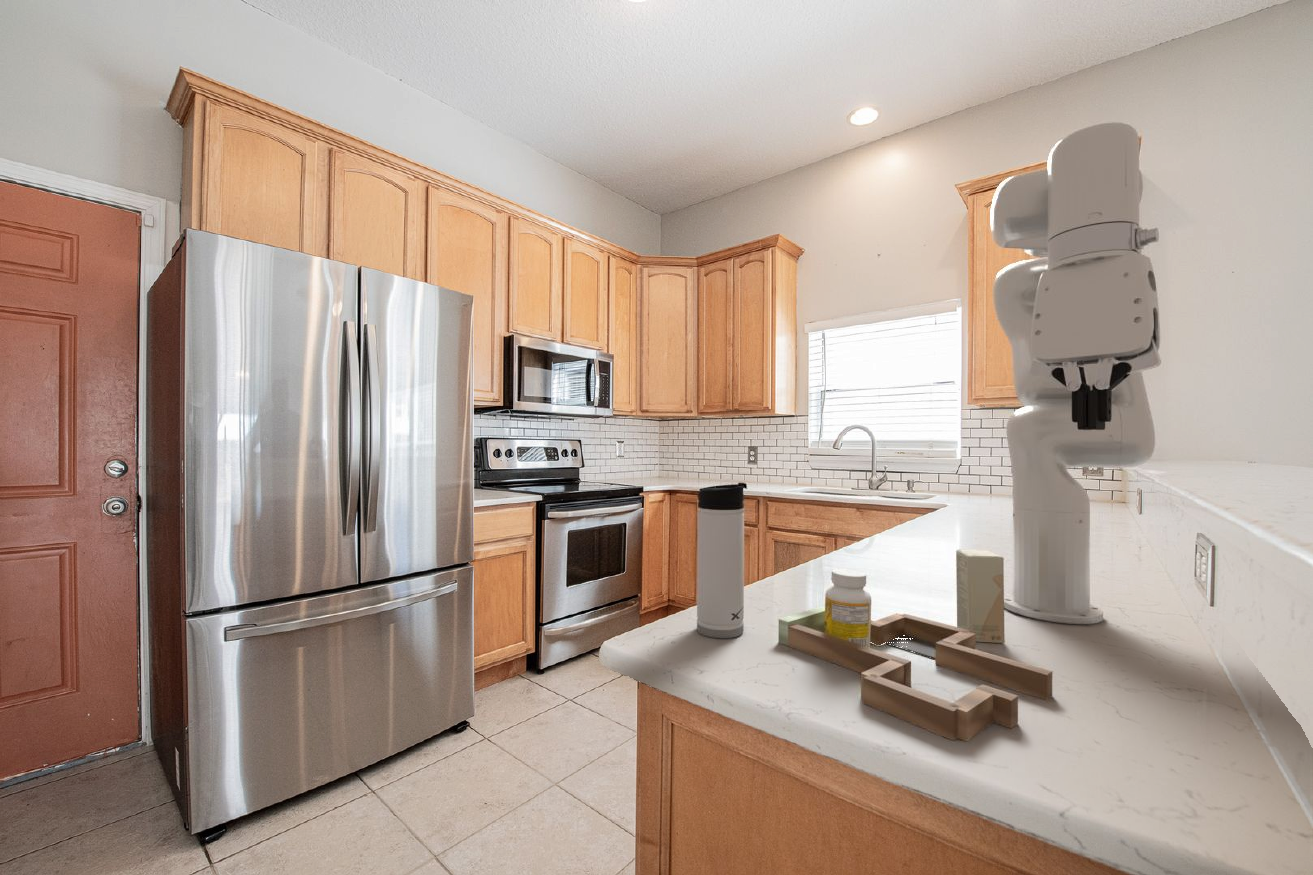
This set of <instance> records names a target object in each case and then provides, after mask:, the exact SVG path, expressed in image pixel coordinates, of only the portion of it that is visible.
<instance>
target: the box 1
mask: <svg viewBox="0 0 1313 875" xmlns="http://www.w3.org/2000/svg"><path fill="white" fill-rule="evenodd" d="M824 627H825V605H822V606H818V607H815V608H811V609H808V610H804V611H801V612H798V613H795V614H791V615H788V616H784V617H780V618H778V643H779V644H780V645H784V646H787V647H788V648H789V647H790V648H792V649H795V650H796V651H797V650H798V651H801V652H803V653H806V654H809V655H811V656H814V657H816V658H819V659H822V660H824V661H827V662H830V663H833V664H836V665H838V666H841V667H844V668H847V669H849V670H852V671H855V672H857V673H860V672H861V673H860V699H862V700H863V704H865V705H867V706H869V707H872V708H874V709H876V710H879V711H882V712H884V713H886V714H889V715H890V716H894V717H895V718H898V719H901V720H903V721H906V722H907V723H910V724H913V725H915V726H917V727H919V728H923V729H925V730H927V731H930V732H931V733H935V734H937V735H939V736H941V737H944V738H947V739H949V740H952V741H955V740H956V739H960V740H962V741H965V742H968V741H969V740H970V739H971V738H973V737H974V736H976V735H977V734H978V733H980V732H981V731H983V730H984V729H985V728H987V727H988V726H990V725H991V724H992V723H995V724H998V725H1001V726H1004V727H1006V728H1009V729H1013V728H1014V727H1015V726H1017V725H1018V724H1019V723H1018V722H1019V695H1016V694H1013V693H1010V692H1007V691H1004V690H1001V689H998V688H995V687H992V686H989V685H986V684H981V685H979V686H977V687H976V688H974V689H972V690H971V691H970V692H968V693H966V694H965V695H962V697H960V698H958V699H957V700H955V701H953V702H951V701H948V700H945V699H942V698H940V697H937V696H934V695H931V694H929V693H927V692H923V691H920V690H918V689H915V688H912V687H910V686H911V685H912V660H909V659H905V658H902V657H900V656H897V655H893V654H890V653H888V652H887V653H886V652H884V651H881V650H878V649H874V648H871V647H870V648H869V647H866V646H863V645H860V644H857V643H853V642H850V641H847V640H844V639H841V638H838V637H835V636H832V635H829V634H826V633H824ZM903 635H905V636H903ZM898 637H899V638H908V639H906V640H905V639H904V640H903V639H902V640H901V639H898V640H897V639H895V638H898ZM909 638H911V640H910V639H909ZM912 638H913V639H912ZM893 639H894V640H893ZM870 642H872V643H874V644H876V645H881V644H883V643H885V642H886V643H887V642H888V644H891V645H894V646H898V647H902V646H903V647H902V648H904V649H907V650H908V651H907V650H906V651H907V652H910V651H913V652H915V653H914V654H916V653H918V654H917V655H919V654H921V655H920V656H923V655H925V656H924V657H926V656H928V657H927V658H929V657H931V658H930V659H932V658H933V660H935V661H934V662H935V664H937V665H936V666H938V665H939V667H941V666H942V668H945V669H948V670H951V671H955V672H957V673H961V674H964V675H967V676H970V677H972V678H976V679H979V680H983V681H985V682H989V683H991V684H995V685H999V686H1001V687H1004V688H1007V689H1011V690H1014V691H1017V692H1020V693H1023V694H1026V695H1030V696H1032V697H1036V698H1039V699H1042V700H1045V701H1048V700H1049V699H1050V698H1052V697H1053V671H1052V670H1049V669H1045V668H1042V667H1039V666H1035V665H1032V664H1028V663H1024V662H1021V661H1016V660H1014V659H1010V658H1007V657H1003V656H999V655H996V654H992V653H989V652H985V651H982V650H978V649H977V646H976V643H977V641H976V634H974V633H972V631H970V630H966V629H963V628H959V627H957V626H954V625H950V624H948V623H947V624H946V623H943V622H938V621H935V620H931V619H928V618H923V617H919V616H915V615H911V614H907V613H903V614H901V613H894V614H891V615H888V616H885V617H883V618H880V619H876V620H871V629H870ZM889 642H890V643H889ZM891 642H892V643H891ZM893 642H894V643H893ZM897 642H898V643H897ZM899 642H900V643H899ZM901 642H904V643H901ZM905 642H906V643H905ZM907 642H908V643H907ZM891 645H890V646H891ZM894 646H893V647H894ZM906 646H907V647H906ZM913 652H912V653H913ZM935 664H934V665H935Z"/></svg>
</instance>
